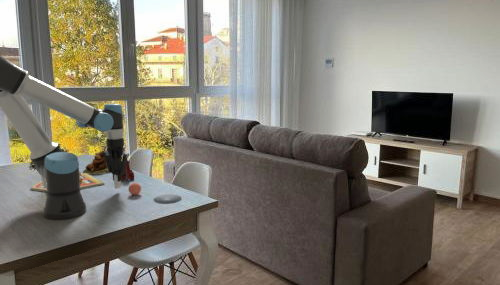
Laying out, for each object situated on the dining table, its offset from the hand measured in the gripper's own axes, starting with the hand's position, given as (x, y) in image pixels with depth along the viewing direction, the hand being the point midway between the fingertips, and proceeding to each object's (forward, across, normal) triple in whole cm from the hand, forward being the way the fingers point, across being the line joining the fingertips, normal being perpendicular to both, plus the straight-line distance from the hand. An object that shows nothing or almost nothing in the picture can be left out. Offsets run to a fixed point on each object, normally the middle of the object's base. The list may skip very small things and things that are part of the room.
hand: (117, 187), depth 175 cm
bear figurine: (+3, +34, -28) cm, 44 cm away
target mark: (+2, -26, 0) cm, 27 cm away
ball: (0, -9, 0) cm, 9 cm away
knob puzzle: (+3, +33, -2) cm, 33 cm away
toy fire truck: (+3, +11, -21) cm, 24 cm away
